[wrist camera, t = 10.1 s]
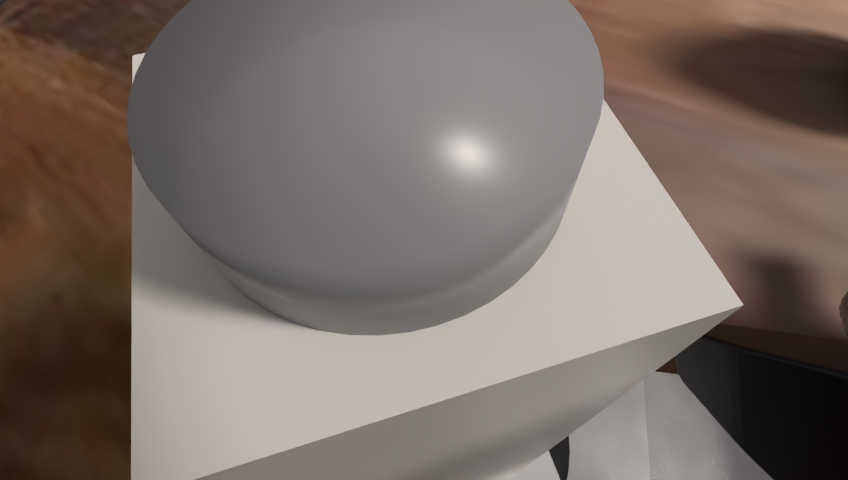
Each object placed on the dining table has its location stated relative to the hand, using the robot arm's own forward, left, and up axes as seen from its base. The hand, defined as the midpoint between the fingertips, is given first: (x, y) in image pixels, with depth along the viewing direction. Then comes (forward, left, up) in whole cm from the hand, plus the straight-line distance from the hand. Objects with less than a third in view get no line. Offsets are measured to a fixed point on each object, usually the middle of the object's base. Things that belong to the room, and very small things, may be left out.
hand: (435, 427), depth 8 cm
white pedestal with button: (+1, +1, -8) cm, 8 cm away
